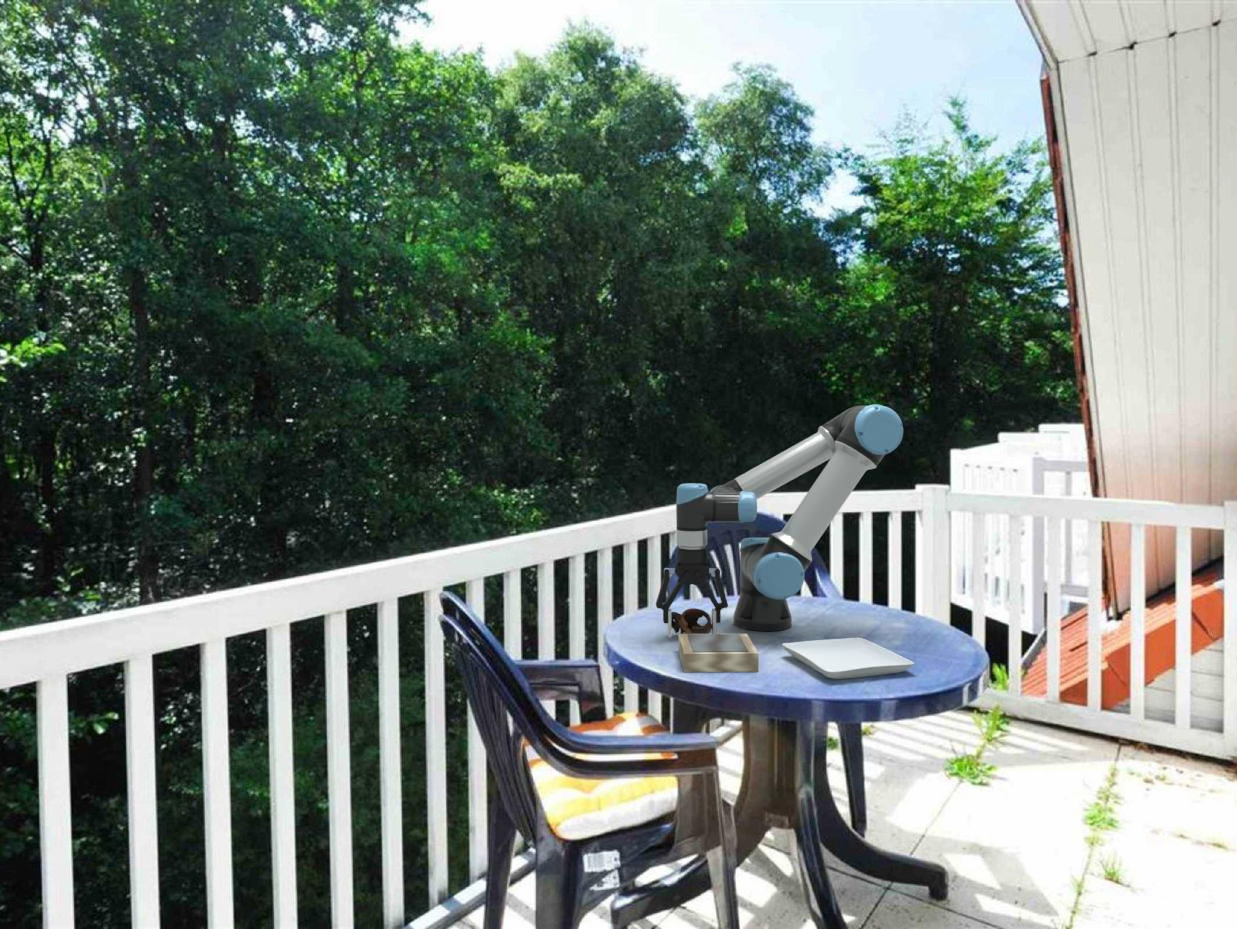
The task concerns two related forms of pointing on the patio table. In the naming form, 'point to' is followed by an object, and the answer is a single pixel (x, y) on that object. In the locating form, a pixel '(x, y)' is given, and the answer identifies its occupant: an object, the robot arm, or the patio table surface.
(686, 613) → the pottery mug
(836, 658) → the salad plate
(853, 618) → the patio table surface
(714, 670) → the wooden tray
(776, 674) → the patio table surface
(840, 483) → the robot arm
